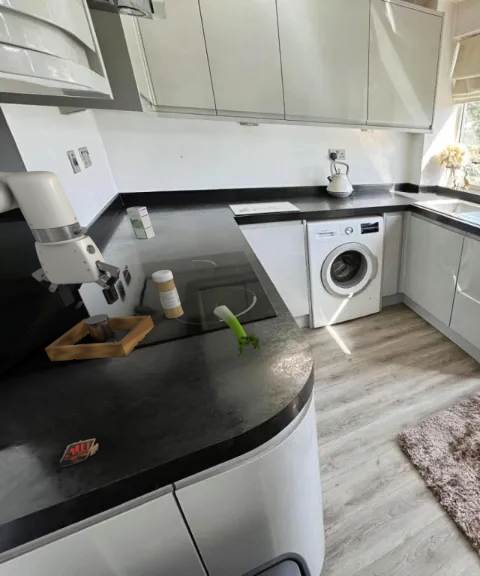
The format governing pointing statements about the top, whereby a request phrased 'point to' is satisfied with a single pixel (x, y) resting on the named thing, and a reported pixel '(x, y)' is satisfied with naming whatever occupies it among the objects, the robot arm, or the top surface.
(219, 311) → the celery stalk
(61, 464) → the matchbox
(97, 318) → the gray metal cup
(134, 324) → the wooden frame
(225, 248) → the top surface
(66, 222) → the robot arm
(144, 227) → the syrup box
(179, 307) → the sprinkles bottle
